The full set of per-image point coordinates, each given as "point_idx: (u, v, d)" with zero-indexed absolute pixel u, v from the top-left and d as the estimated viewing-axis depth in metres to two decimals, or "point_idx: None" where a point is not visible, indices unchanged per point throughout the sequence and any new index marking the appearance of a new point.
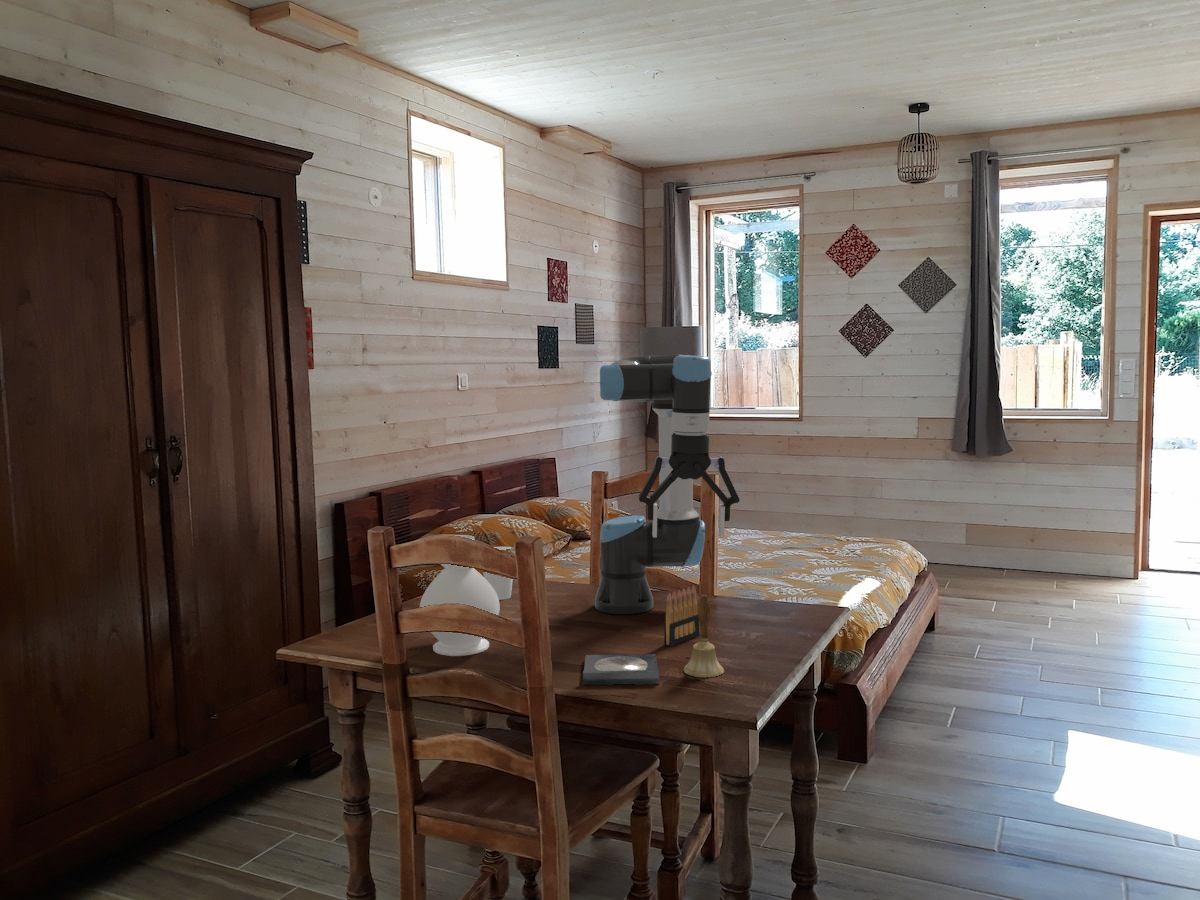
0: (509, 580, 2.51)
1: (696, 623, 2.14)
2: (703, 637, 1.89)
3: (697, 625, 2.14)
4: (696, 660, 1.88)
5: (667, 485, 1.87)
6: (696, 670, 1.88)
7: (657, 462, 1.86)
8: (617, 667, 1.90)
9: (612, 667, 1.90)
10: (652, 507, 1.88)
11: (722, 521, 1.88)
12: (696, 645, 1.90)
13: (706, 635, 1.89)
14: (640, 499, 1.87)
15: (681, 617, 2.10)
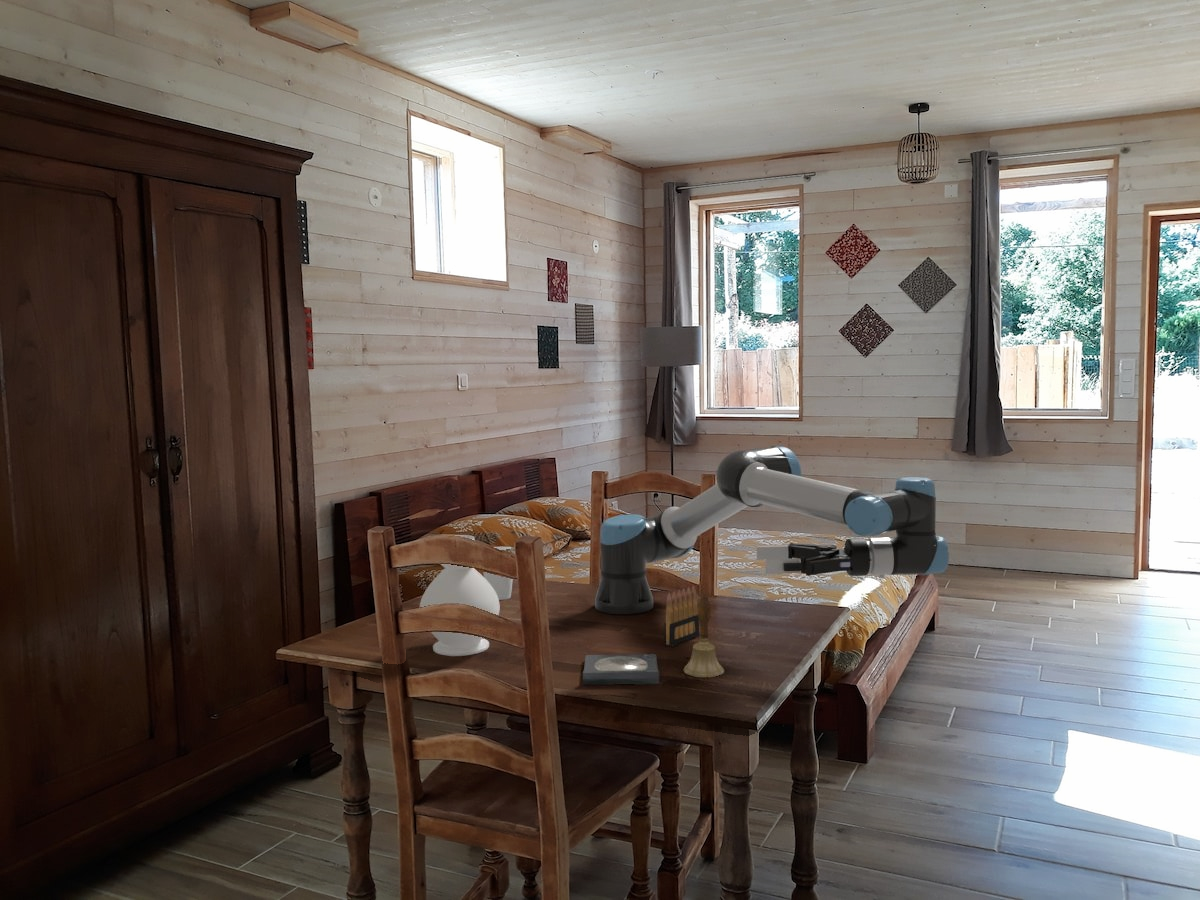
0: (509, 580, 2.51)
1: (696, 623, 2.14)
2: (703, 637, 1.89)
3: (697, 625, 2.14)
4: (696, 660, 1.88)
5: None
6: (696, 670, 1.88)
7: None
8: (617, 667, 1.90)
9: (612, 667, 1.90)
10: None
11: None
12: (696, 645, 1.90)
13: (706, 635, 1.89)
14: (808, 575, 1.78)
15: (681, 617, 2.10)
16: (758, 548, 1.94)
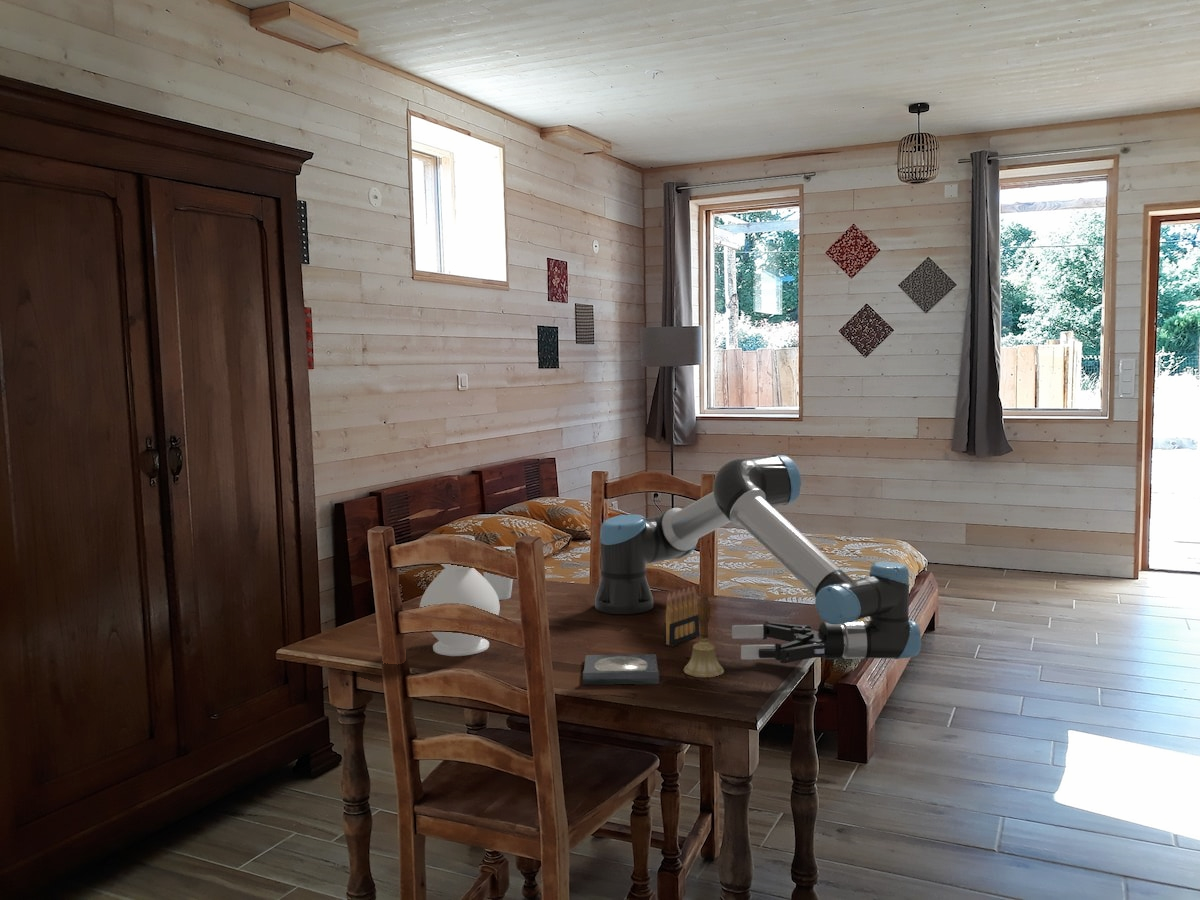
0: (509, 580, 2.51)
1: (696, 623, 2.14)
2: (703, 637, 1.89)
3: (697, 625, 2.14)
4: (696, 660, 1.88)
5: None
6: (696, 670, 1.88)
7: None
8: (617, 667, 1.90)
9: (612, 667, 1.90)
10: None
11: None
12: (696, 645, 1.90)
13: (706, 635, 1.89)
14: None
15: (681, 617, 2.10)
16: (734, 627, 1.96)
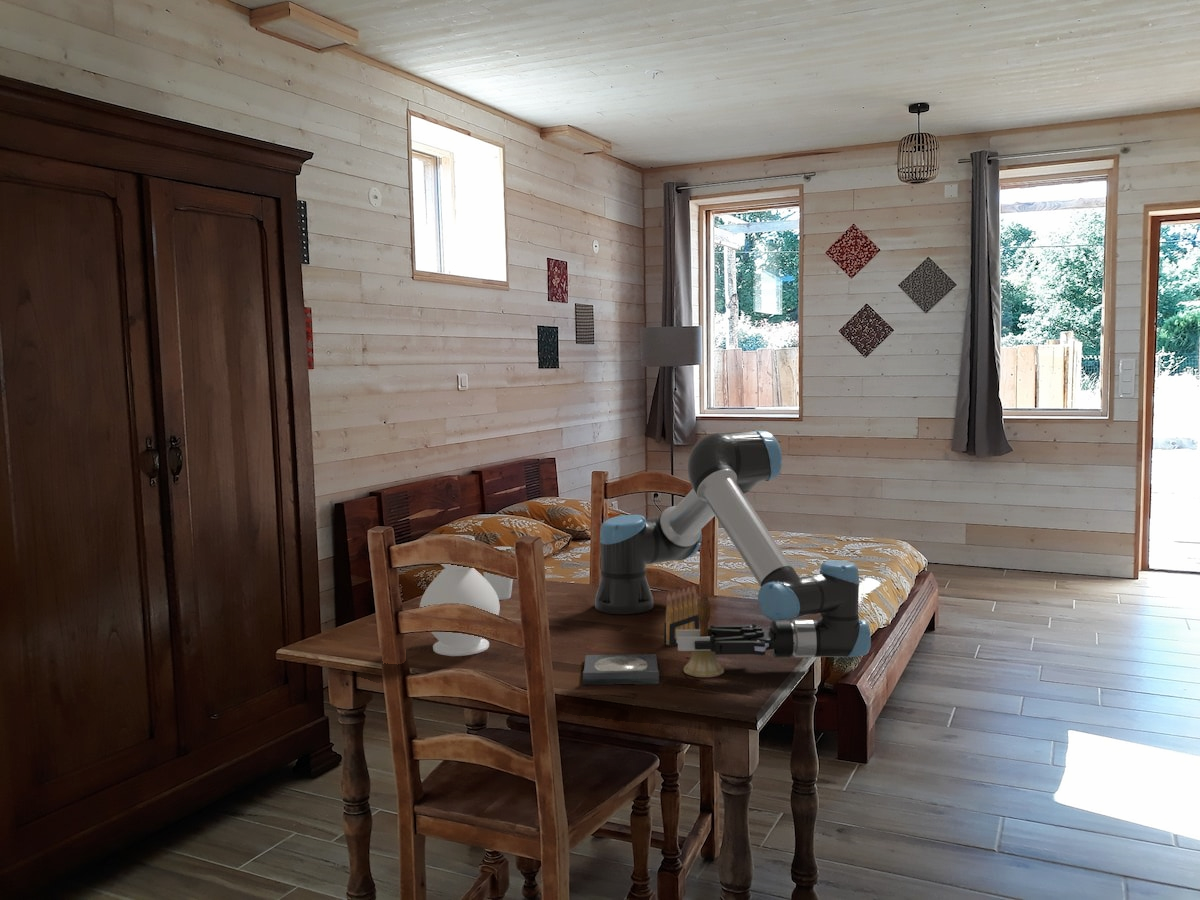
0: (509, 580, 2.51)
1: (696, 623, 2.14)
2: None
3: (697, 625, 2.14)
4: (696, 660, 1.88)
5: None
6: (696, 670, 1.88)
7: None
8: (617, 667, 1.90)
9: (612, 667, 1.90)
10: None
11: None
12: None
13: (706, 635, 1.89)
14: (717, 654, 1.85)
15: (681, 617, 2.10)
16: (677, 632, 1.92)
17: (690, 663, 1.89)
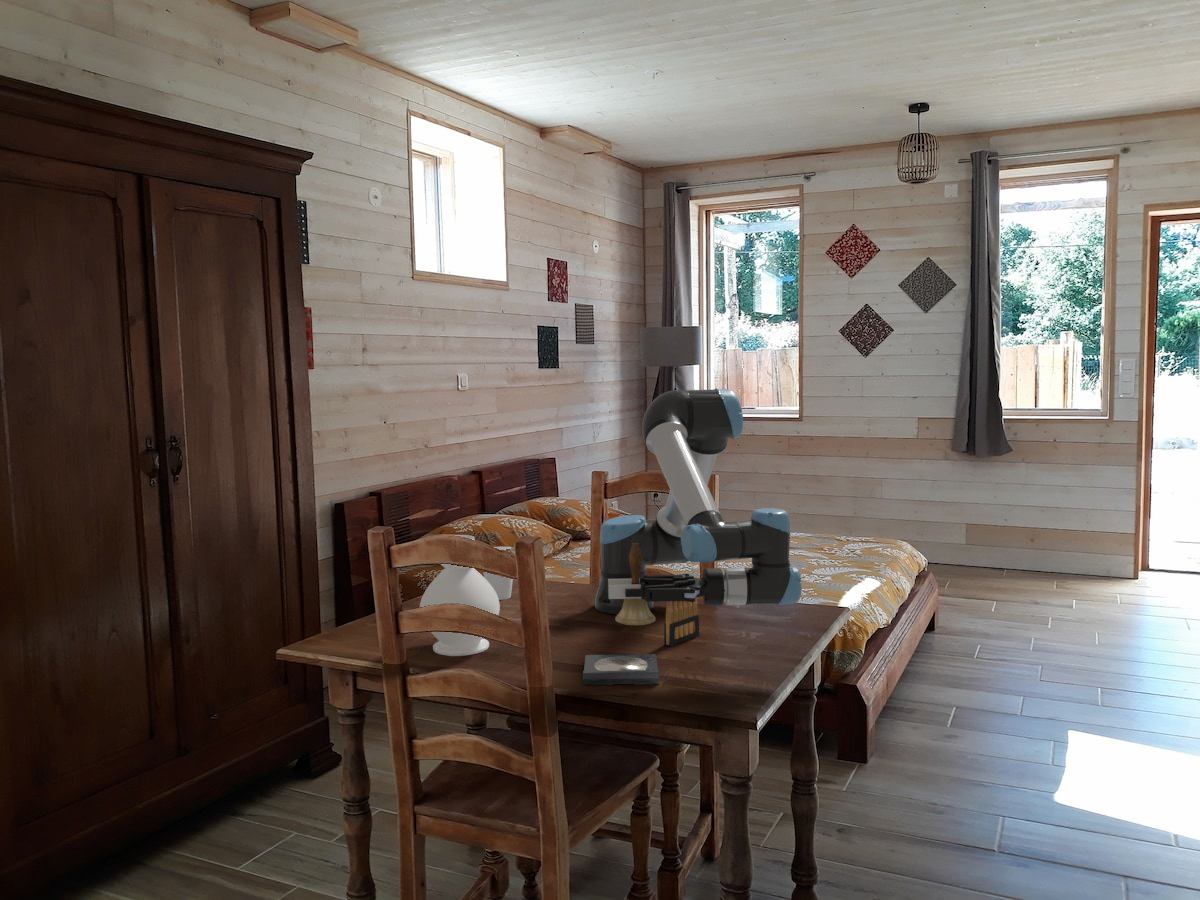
0: (509, 580, 2.51)
1: (696, 623, 2.14)
2: None
3: (697, 625, 2.14)
4: (627, 608, 1.87)
5: None
6: (627, 618, 1.87)
7: None
8: (617, 667, 1.90)
9: (612, 667, 1.90)
10: None
11: None
12: None
13: (637, 583, 1.88)
14: (647, 601, 1.84)
15: (681, 617, 2.10)
16: (609, 581, 1.91)
17: (621, 612, 1.88)
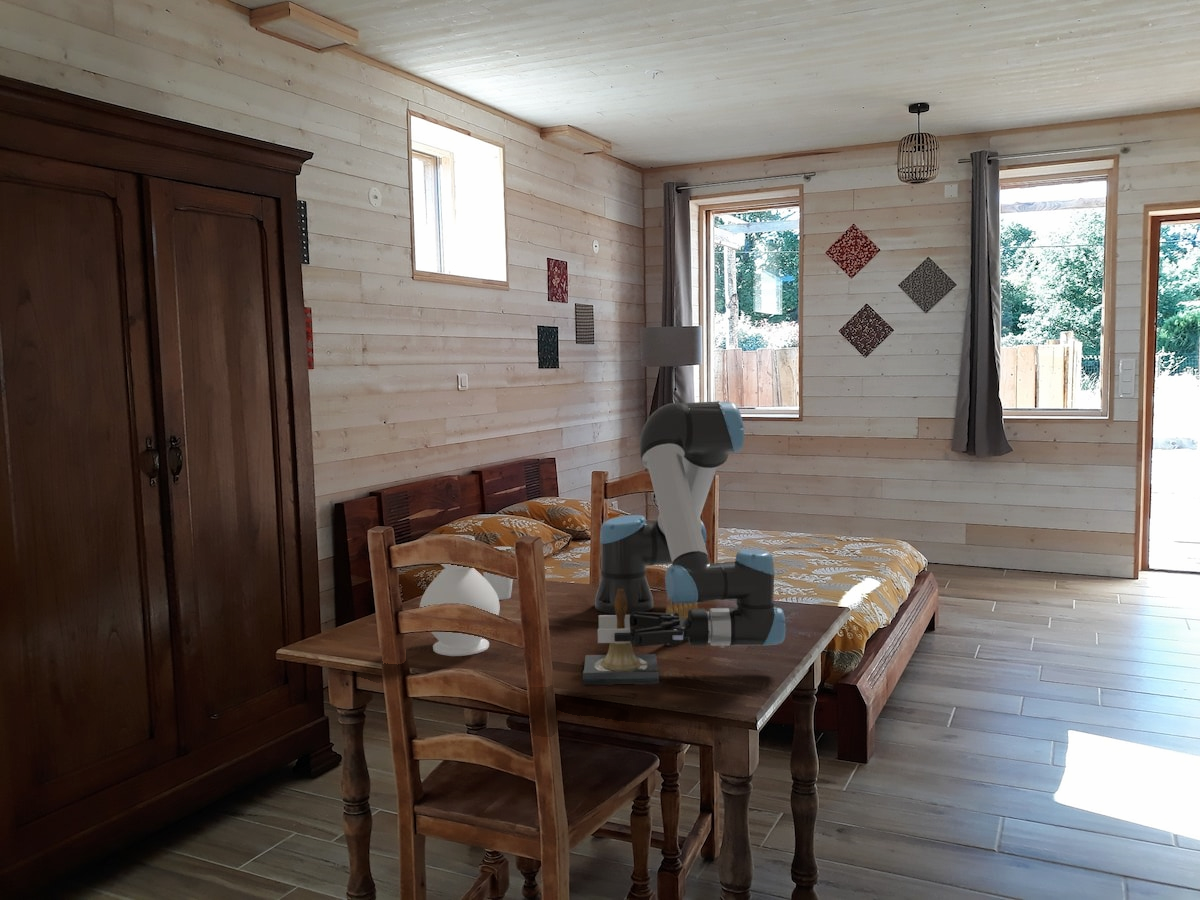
0: (509, 580, 2.51)
1: None
2: None
3: None
4: (612, 654, 1.89)
5: None
6: (612, 663, 1.88)
7: None
8: None
9: None
10: None
11: None
12: None
13: None
14: (636, 646, 1.83)
15: (681, 617, 2.10)
16: (600, 617, 1.95)
17: (607, 657, 1.90)
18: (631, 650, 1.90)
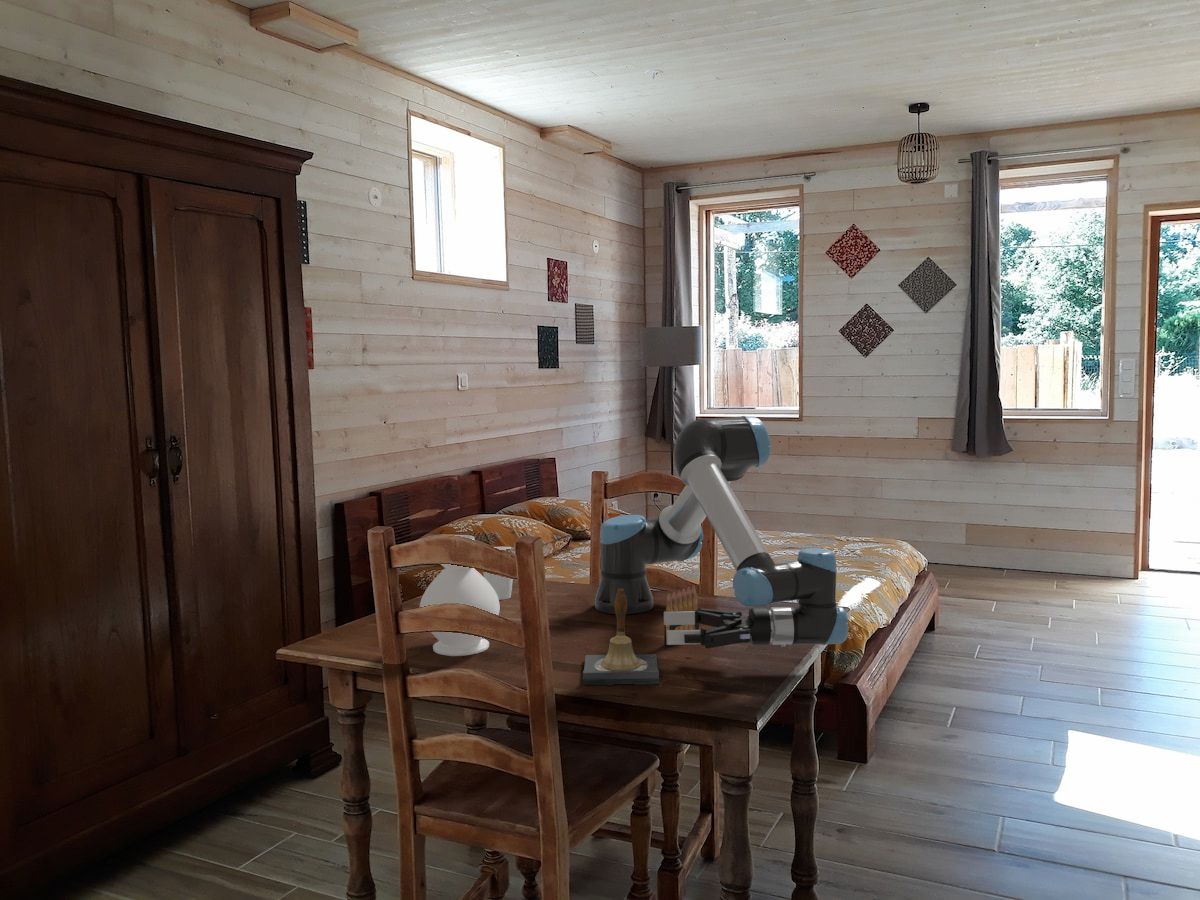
0: (509, 580, 2.51)
1: None
2: (620, 630, 1.90)
3: None
4: (612, 654, 1.89)
5: None
6: (612, 663, 1.88)
7: None
8: None
9: None
10: None
11: None
12: (613, 639, 1.90)
13: (622, 629, 1.90)
14: None
15: None
16: (665, 614, 1.97)
17: (607, 657, 1.90)
18: (631, 650, 1.90)
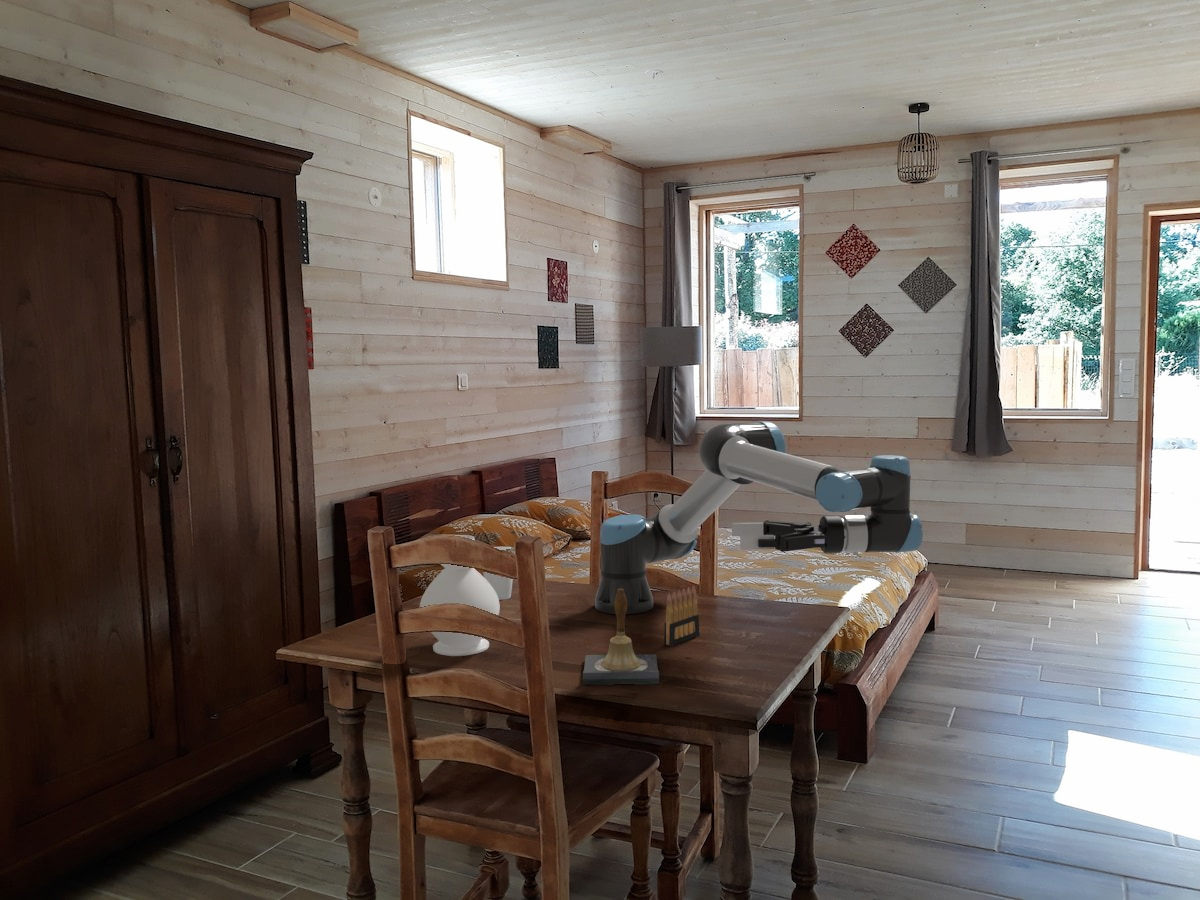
0: (509, 580, 2.51)
1: (696, 623, 2.14)
2: (620, 630, 1.90)
3: (697, 625, 2.14)
4: (612, 654, 1.89)
5: None
6: (612, 663, 1.88)
7: None
8: None
9: None
10: None
11: None
12: (613, 639, 1.90)
13: (622, 629, 1.90)
14: (783, 551, 1.78)
15: (681, 617, 2.10)
16: (733, 525, 1.94)
17: (607, 657, 1.90)
18: (631, 650, 1.90)
